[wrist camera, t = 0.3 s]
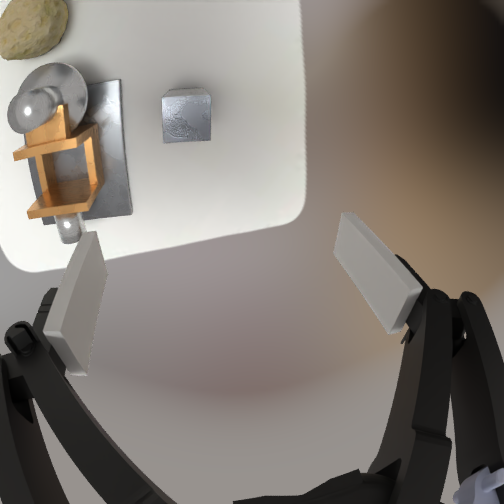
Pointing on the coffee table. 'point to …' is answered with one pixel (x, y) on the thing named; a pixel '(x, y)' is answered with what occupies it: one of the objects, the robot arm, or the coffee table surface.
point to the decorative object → (31, 27)
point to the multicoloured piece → (72, 148)
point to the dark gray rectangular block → (186, 115)
